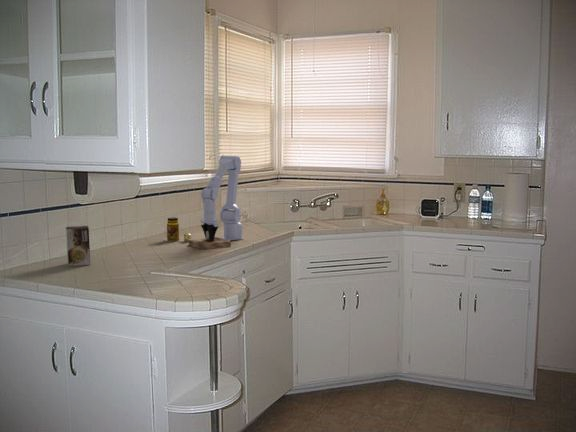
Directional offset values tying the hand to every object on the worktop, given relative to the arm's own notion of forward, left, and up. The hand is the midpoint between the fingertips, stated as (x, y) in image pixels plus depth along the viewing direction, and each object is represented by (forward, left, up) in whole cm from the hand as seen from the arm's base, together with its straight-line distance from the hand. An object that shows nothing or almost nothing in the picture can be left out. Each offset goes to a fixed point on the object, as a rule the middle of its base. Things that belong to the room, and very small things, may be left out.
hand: (209, 239), depth 321 cm
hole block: (0, 0, -3) cm, 3 cm away
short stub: (+4, -16, -3) cm, 17 cm away
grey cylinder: (0, 0, -3) cm, 3 cm away
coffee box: (+68, +8, -3) cm, 69 cm away
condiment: (+9, -23, -3) cm, 25 cm away
